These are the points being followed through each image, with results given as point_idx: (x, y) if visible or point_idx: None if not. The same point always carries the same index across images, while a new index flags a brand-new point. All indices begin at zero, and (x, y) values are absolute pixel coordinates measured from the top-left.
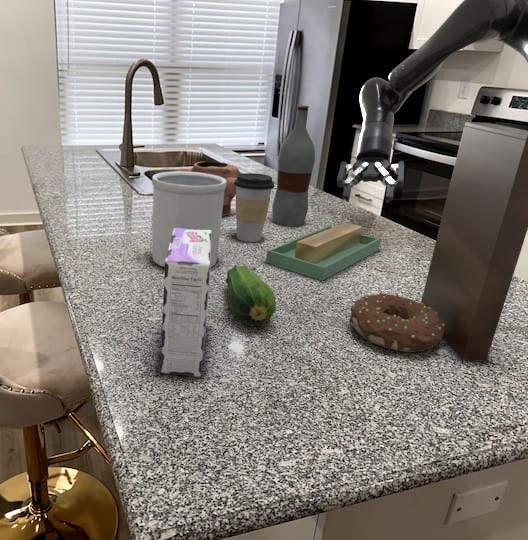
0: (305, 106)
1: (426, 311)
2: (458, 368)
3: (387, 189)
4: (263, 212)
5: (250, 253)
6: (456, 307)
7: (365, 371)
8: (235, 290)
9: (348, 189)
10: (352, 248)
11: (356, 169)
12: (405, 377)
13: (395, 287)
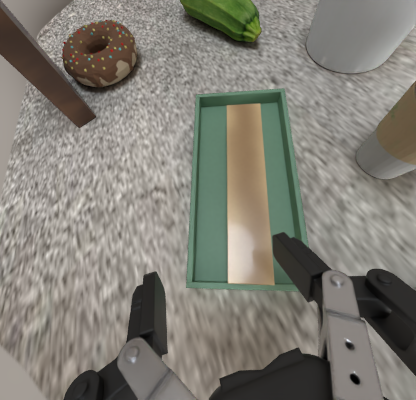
0: None
1: (71, 52)
2: None
3: (151, 302)
4: (391, 118)
5: (318, 113)
6: (42, 50)
7: None
8: None
9: (296, 253)
10: (221, 235)
11: (376, 371)
12: None
13: (127, 152)
